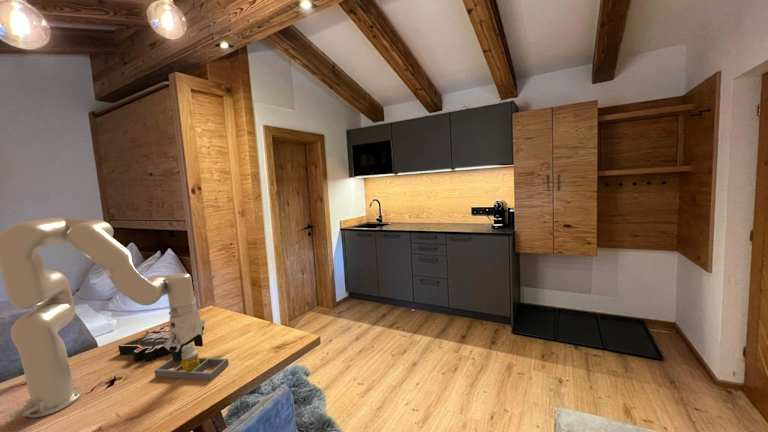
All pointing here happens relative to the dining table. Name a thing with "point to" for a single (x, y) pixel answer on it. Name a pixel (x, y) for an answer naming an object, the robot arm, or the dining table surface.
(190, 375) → the slot rack
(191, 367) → the supplement bottle
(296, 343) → the dining table surface
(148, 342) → the wall plaque
